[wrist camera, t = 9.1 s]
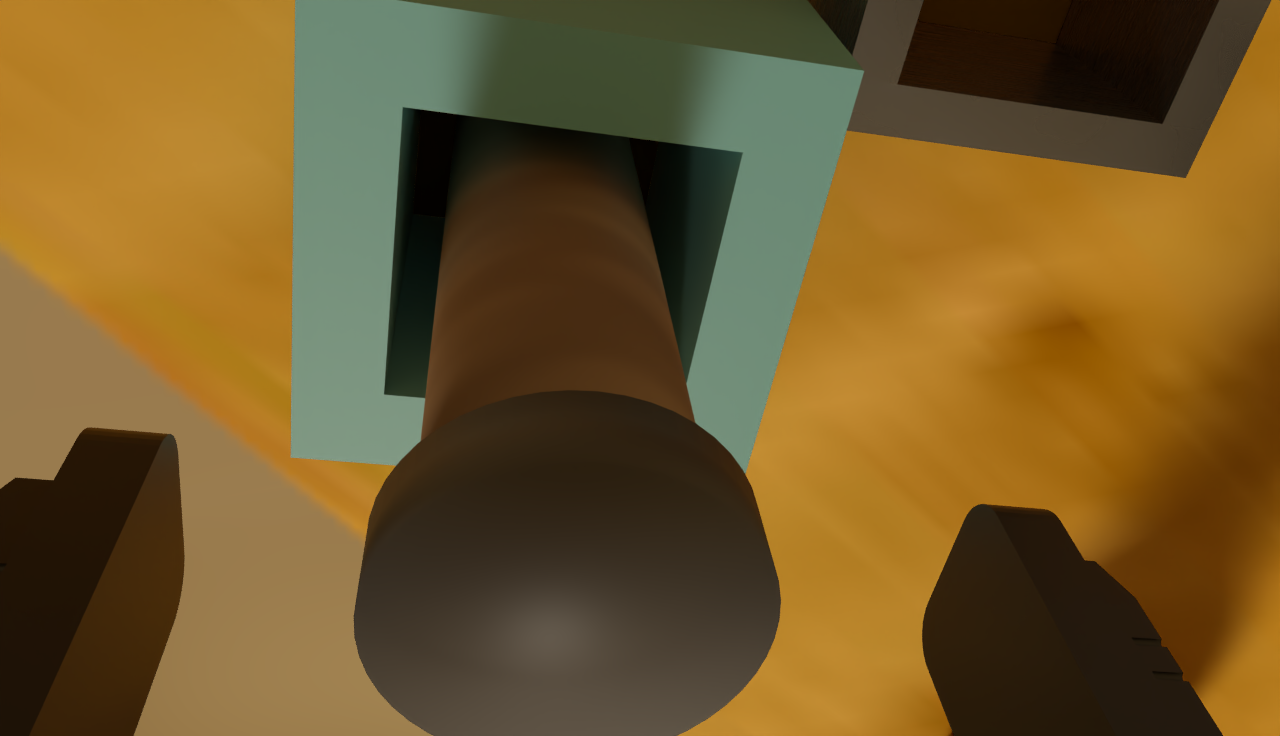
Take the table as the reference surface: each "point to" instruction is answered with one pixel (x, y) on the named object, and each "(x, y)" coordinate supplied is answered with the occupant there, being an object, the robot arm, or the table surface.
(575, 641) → the pin
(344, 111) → the socket
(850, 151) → the table surface
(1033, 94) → the mount
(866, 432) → the table surface
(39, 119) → the table surface
